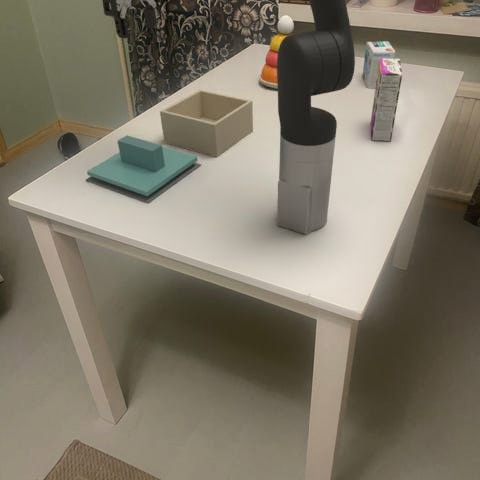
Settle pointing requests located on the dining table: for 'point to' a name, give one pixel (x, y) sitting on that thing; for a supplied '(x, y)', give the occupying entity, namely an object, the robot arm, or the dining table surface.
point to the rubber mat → (140, 196)
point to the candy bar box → (385, 99)
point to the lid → (142, 165)
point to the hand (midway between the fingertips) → (137, 32)
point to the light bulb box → (375, 60)
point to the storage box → (207, 122)
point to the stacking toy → (275, 53)
